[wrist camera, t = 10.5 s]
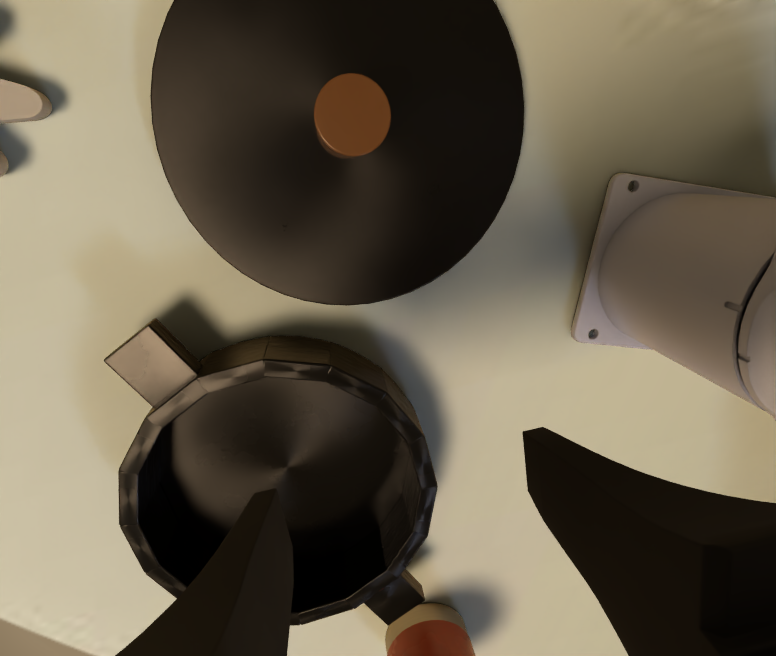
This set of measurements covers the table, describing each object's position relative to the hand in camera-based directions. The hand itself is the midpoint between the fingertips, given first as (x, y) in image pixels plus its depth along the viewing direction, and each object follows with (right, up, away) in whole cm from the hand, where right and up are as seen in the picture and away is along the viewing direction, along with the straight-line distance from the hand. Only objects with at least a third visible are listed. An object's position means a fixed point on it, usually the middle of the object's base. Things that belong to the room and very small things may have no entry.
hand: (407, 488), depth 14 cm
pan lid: (-2, +13, +6) cm, 14 cm away
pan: (-6, -2, +11) cm, 13 cm away
